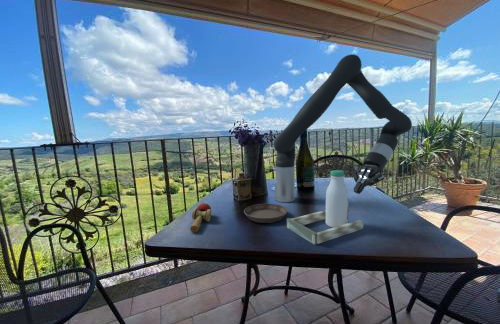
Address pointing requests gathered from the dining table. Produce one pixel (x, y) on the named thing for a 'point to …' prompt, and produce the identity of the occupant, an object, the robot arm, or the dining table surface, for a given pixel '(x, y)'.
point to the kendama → (200, 216)
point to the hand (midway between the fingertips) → (356, 192)
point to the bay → (322, 236)
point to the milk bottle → (337, 200)
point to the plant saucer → (265, 213)
